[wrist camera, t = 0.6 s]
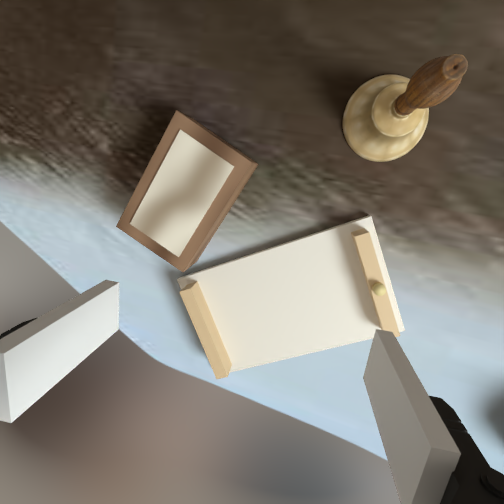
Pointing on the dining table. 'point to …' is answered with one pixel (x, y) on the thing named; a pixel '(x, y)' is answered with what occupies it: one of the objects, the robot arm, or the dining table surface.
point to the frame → (185, 192)
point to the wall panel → (293, 298)
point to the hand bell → (398, 108)
